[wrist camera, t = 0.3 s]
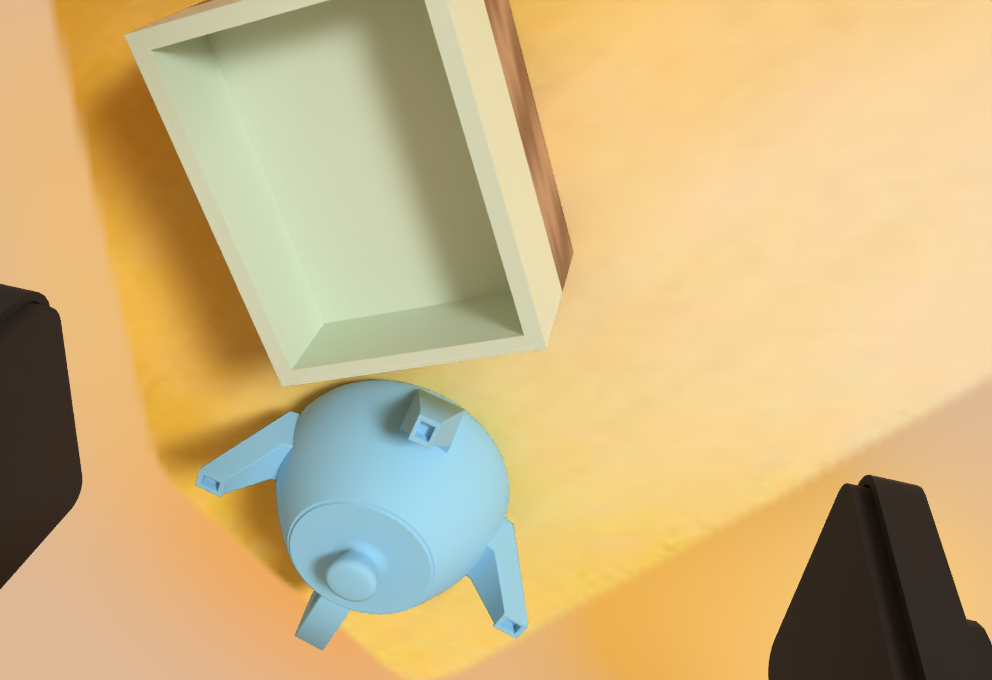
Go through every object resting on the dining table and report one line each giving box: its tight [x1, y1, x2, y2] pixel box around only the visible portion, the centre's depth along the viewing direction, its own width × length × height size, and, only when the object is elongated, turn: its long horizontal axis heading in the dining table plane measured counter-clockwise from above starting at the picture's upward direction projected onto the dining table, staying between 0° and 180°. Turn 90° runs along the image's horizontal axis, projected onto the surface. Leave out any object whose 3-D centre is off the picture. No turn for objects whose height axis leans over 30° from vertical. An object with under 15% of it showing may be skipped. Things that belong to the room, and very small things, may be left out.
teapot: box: [195, 380, 528, 650], centre depth 53 cm, size 15×15×11 cm
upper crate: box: [124, 0, 562, 387], centre depth 40 cm, size 17×13×5 cm
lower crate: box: [189, 0, 573, 292], centre depth 44 cm, size 17×13×4 cm
